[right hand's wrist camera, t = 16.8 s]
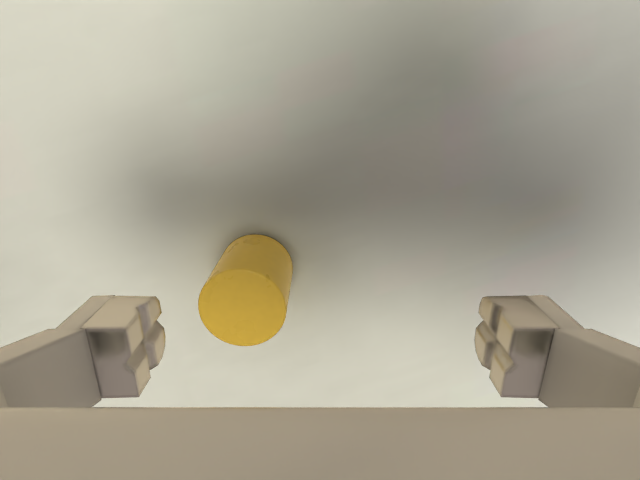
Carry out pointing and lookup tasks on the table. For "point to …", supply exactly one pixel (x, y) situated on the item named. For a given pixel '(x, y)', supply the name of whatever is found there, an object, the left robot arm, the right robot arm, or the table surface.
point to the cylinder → (247, 291)
